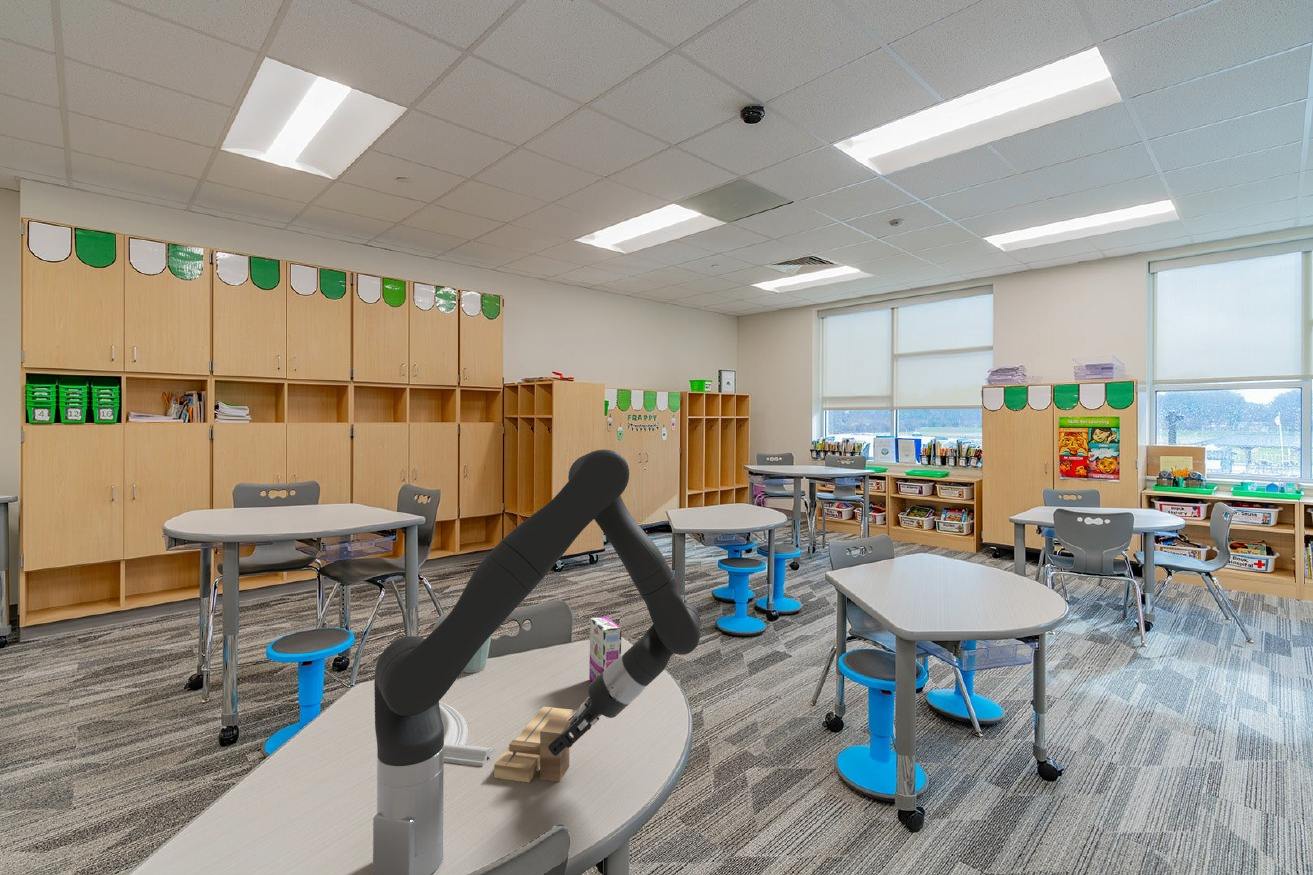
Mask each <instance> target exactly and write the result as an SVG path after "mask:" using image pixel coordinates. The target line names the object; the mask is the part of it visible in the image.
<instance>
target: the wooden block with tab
mask: <svg viewBox="0 0 1313 875" xmlns="http://www.w3.org/2000/svg"><path fill="white" fill-rule="evenodd" d="M568 726H569V721H567V720H558V719H550V720H549V721H548V722H547V723H546V725H545V726H544V727H543V728H542V730H541V731H540V743H534V742H526V741H518V740H515V739H513V740H511V741H510V742H509V746H508V748H509V751H510V752H513V754H516V752H518V753H526V754H534V755H540V768H539V780H544V781H551V782H561V781H562V779H563V778H564V777H565V774H566V772H567V771H568V770H569V768H570V747H569V748H567V746H566V747H565V748H564V749H563V750H562V751H561V752H560V753H559V754H558V755H557V756H554V755H553V754H552V753H551V751H550V750H549V749H548V746H549V745H550V744H551V743H552V742H553V741H554V740H555V739H556V738H557V737H558V736H559V735H561V732H562V731H564V730H565V729H566V728H567V727H568ZM570 734H571V733H570V732H569V735H570ZM570 736H571V735H570Z"/></svg>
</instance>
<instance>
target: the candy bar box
mask: <svg viewBox="0 0 1313 875" xmlns="http://www.w3.org/2000/svg"><path fill="white" fill-rule="evenodd" d="M589 624H590V626H589V674H588V675H589V676H588V677H589V678H588V679H590V680H589V681H590V682H591V681H592V682H593V681H594V680H595V679H596V678H597V677H598V676H599V675H600V674H601V673H602V672H603V671H604V670H605V669H607V668H608V667H609V666H610V665H611V664H612V663H613V662H614V661H615V660H617V659H618V658H620V657H621V656H622V627H620V626H619V625H618V624H617V623H616V622H614V620H612V619H611V618H609V617H608V616H597V617H591V618H589Z"/></svg>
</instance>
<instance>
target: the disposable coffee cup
mask: <svg viewBox="0 0 1313 875" xmlns="http://www.w3.org/2000/svg"><path fill="white" fill-rule="evenodd" d="M491 640H492V635H491V636H490V637H489V638H488V639H487V640H486V641H485V642H484V644H483V645H482V646H481V647H480V648H479V650H478V651H477V652H476V654H475V655H474V656H473V658H472V659H471V660H470V662H469V663H468V664H467V666H466V667H465V668H464V670H463V671H462V672H464V673H467V674H470V673H471V674H472V673H473V674H475V673H479V672H481V671H483V670H485V669H486V666H487V663H488V658H489V653H490V652H489V651H490V646H491Z"/></svg>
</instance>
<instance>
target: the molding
mask: <svg viewBox="0 0 1313 875" xmlns="http://www.w3.org/2000/svg"><path fill="white" fill-rule="evenodd" d="M439 707H440V714H441V718H442V722H443V727H444V763H451V764H452V763H453V764H459V765H460V764H461V765H467V766H476V767H484V766H485V765H486V764H487V760H488V759H491V758H492V756H493V755H494V754H495V753H496V751H497V749H496V748H493V747H485V746H478V745H477V746H475V745H469V744H467V741H468V731H469V730H468V725H467V722H466V719H465V718H464V716H463V715H462V714H461V713H460V712H459V711H458V710H457V709H455V708H454V707H452V706H450V705H449V704H447V703H445V702H443V701H441V700H439Z"/></svg>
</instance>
